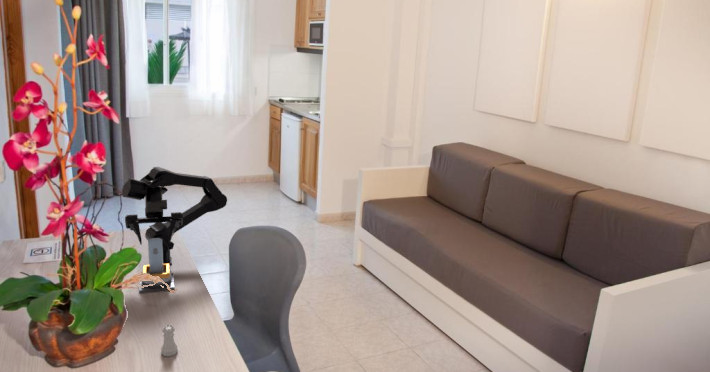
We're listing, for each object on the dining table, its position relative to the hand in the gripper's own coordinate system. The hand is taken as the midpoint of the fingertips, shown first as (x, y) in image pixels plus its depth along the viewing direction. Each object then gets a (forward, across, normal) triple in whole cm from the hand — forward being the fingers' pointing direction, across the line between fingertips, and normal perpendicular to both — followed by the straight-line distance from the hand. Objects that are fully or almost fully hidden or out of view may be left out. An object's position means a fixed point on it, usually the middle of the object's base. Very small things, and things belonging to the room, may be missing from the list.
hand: (155, 243), depth 194 cm
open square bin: (+12, 0, +7) cm, 14 cm away
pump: (+9, 0, +4) cm, 10 cm away
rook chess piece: (+42, +3, -23) cm, 48 cm away
